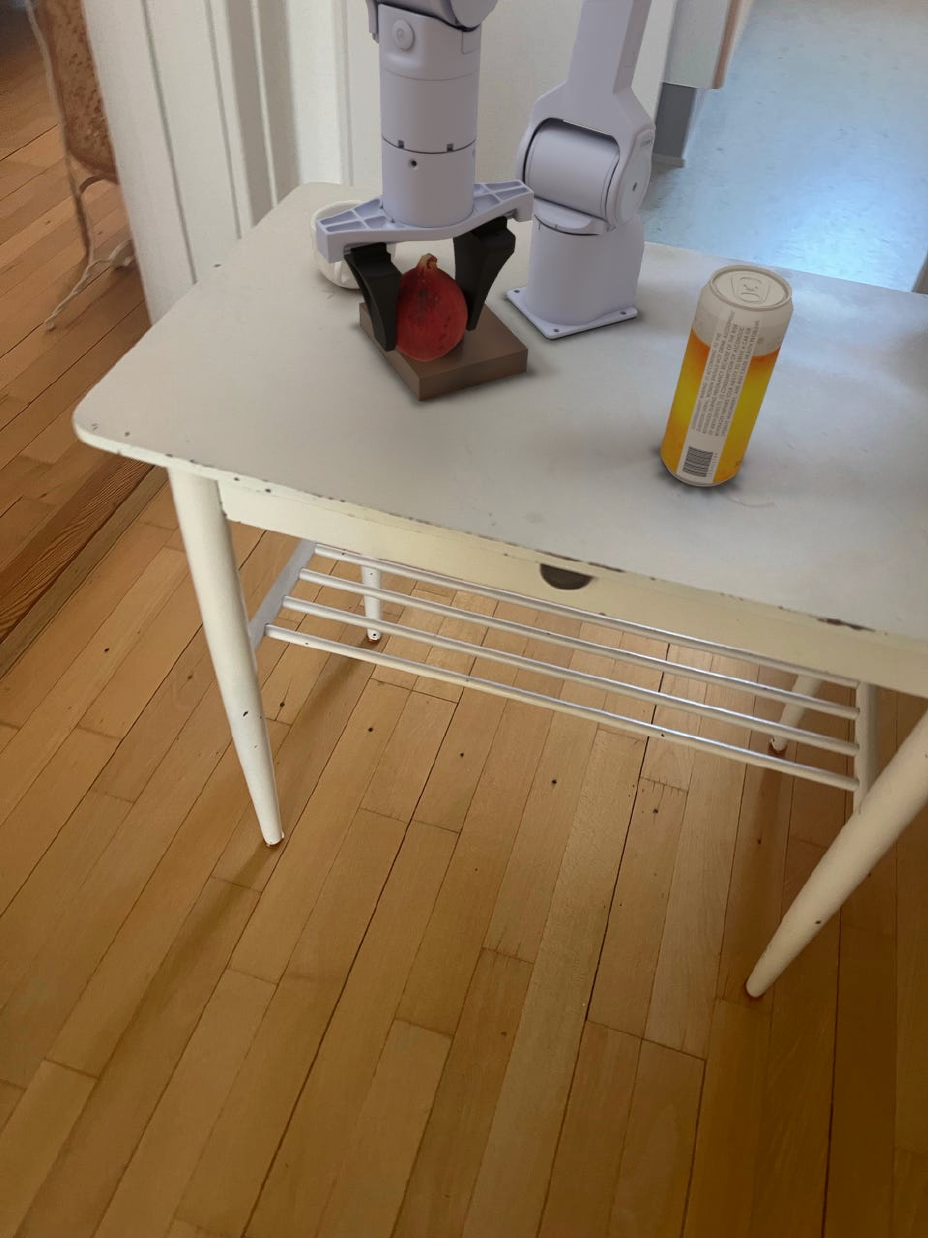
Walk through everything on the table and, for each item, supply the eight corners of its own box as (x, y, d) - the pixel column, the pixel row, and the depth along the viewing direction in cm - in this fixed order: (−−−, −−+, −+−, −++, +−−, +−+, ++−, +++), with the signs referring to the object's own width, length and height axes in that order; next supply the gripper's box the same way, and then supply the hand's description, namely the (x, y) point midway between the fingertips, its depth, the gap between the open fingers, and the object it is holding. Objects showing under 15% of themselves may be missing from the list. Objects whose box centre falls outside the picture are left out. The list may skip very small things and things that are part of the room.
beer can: (739, 447, 74) (798, 269, 63) (736, 498, 71) (798, 317, 59) (662, 434, 75) (706, 255, 64) (654, 483, 71) (700, 302, 60)
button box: (460, 300, 87) (462, 259, 84) (526, 371, 80) (530, 329, 77) (352, 327, 83) (350, 285, 80) (411, 403, 76) (411, 360, 73)
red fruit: (455, 390, 67) (459, 285, 60) (375, 377, 67) (372, 272, 61) (472, 344, 70) (477, 241, 64) (396, 332, 71) (395, 229, 65)
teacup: (326, 250, 91) (322, 195, 87) (405, 260, 91) (404, 205, 87) (297, 305, 85) (292, 248, 81) (381, 316, 84) (380, 259, 80)
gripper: (502, 90, 61) (489, 283, 72) (290, 125, 57) (308, 326, 67) (559, 134, 57) (536, 332, 68) (335, 175, 53) (348, 381, 63)
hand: (426, 333), depth 67 cm, fingers closed on red fruit, 6 cm apart
